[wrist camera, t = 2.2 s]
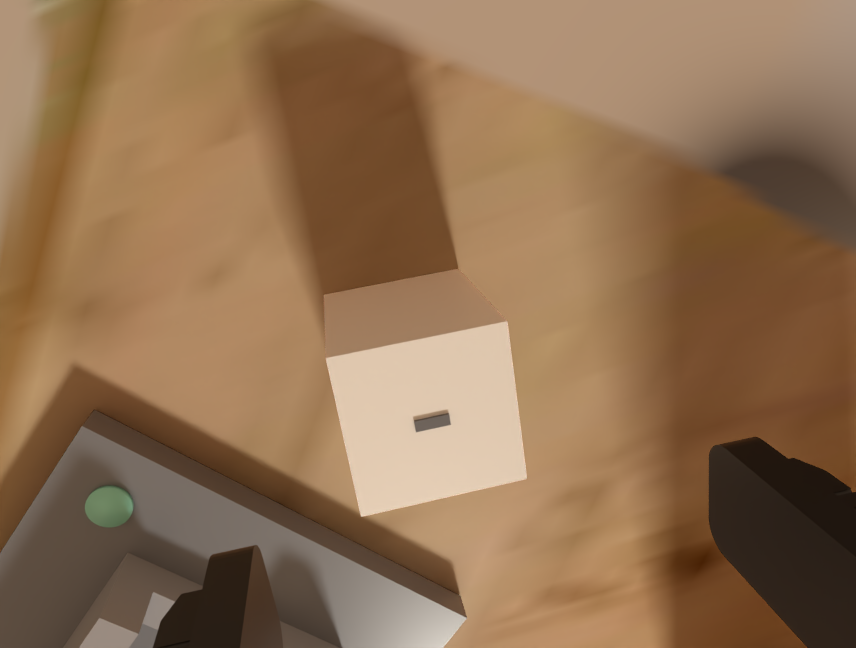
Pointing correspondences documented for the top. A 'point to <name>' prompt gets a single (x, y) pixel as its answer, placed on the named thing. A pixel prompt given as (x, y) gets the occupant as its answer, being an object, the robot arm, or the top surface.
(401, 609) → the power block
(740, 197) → the top surface
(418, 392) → the charger block
